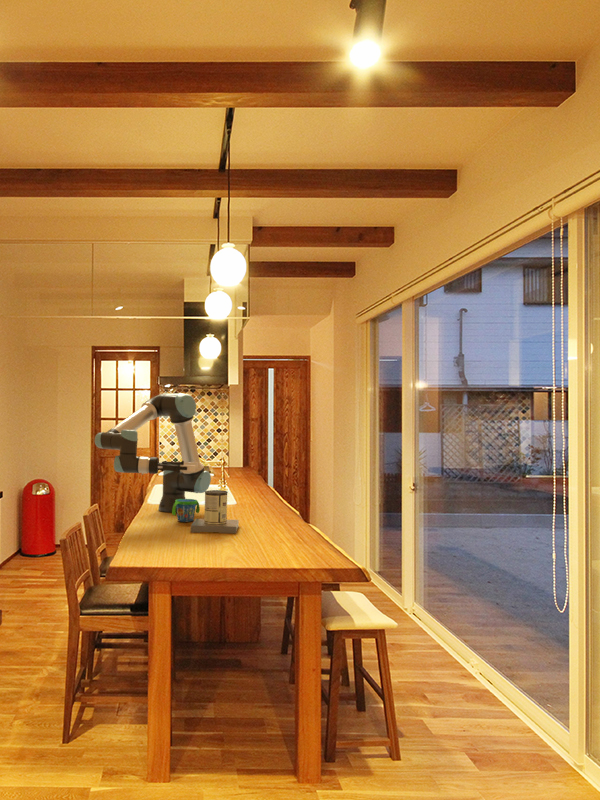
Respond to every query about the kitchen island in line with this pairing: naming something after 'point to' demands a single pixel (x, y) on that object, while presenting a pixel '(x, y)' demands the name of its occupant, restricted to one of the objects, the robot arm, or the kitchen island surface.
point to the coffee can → (215, 507)
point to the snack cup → (185, 509)
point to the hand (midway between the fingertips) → (196, 467)
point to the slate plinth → (214, 526)
